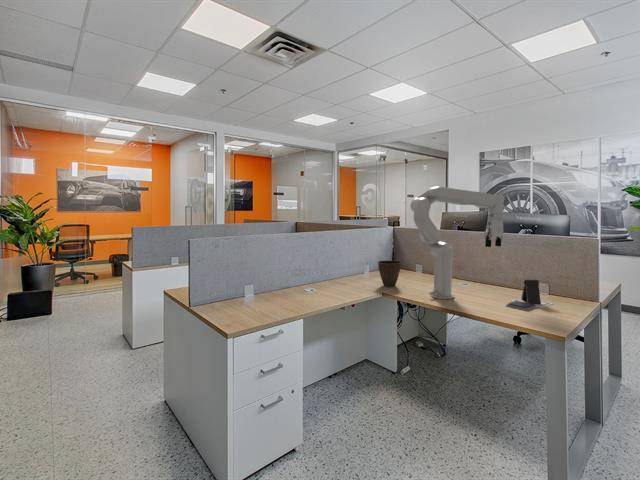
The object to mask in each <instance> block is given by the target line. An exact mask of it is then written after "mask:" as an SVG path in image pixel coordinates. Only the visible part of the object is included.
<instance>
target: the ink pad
mask: <svg viewBox="0 0 640 480" xmlns="http://www.w3.org/2000/svg"><path fill="white" fill-rule="evenodd" d="M506 307H507V308H508V307H509V308H513V309H517V310H521V311H525V312H529V311H531V310H534V309H538V307H537V306H536V305H535V304H530V303H525V302H521V301H515V302H511V301H510V302H509V303H507V304H506Z"/></svg>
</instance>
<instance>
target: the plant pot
mask: <svg viewBox="0 0 640 480" xmlns="http://www.w3.org/2000/svg"><path fill="white" fill-rule="evenodd" d="M401 263H402V262H401V261H398V260H379V261H378V262H377V264H378V270H379V276H380V278H381V281H382V285H383V286H384V287H387V288H392V287H393V288H394V287H396V284H397V282H398V278H399V274H400V271H401Z"/></svg>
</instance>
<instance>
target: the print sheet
mask: <svg viewBox="0 0 640 480" xmlns="http://www.w3.org/2000/svg"><path fill="white" fill-rule="evenodd" d="M521 298H522V297H519V298H517V299H512V300H510V303H511V302H515V301H521V302H524V301H523V300H521ZM540 301H541V304H535V305H536V306H537V309H538V308H539V309H543V308H545V307H548V306H551V305H553V303H552V302H548V301H542V300H540ZM525 303H526V302H525Z"/></svg>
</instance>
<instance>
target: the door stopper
mask: <svg viewBox="0 0 640 480" xmlns="http://www.w3.org/2000/svg"><path fill="white" fill-rule="evenodd" d="M523 282H524V283H523V284H524V285H523V287H522V288H523V289H522V294H521V297H520V298H521V300H523V301H524V302H526V303H530V304H541V301H542V300H541V294H540V280H537V279H524V281H523Z"/></svg>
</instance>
